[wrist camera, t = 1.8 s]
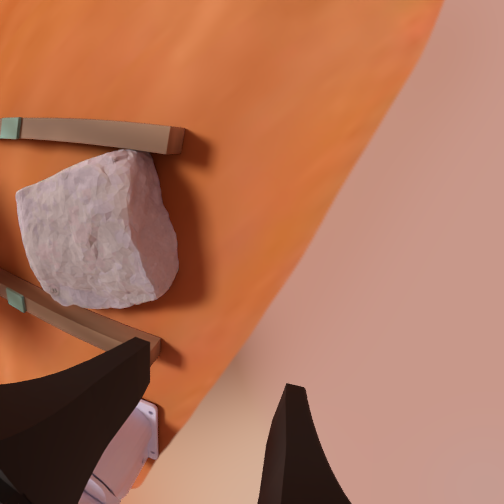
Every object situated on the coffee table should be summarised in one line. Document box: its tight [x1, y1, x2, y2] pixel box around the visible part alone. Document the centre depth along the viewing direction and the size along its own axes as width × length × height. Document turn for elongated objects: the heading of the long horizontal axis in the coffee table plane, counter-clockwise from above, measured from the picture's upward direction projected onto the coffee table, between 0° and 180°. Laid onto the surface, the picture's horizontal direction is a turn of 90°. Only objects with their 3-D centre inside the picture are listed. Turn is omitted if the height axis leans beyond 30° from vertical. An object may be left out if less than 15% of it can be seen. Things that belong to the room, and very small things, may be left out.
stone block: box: [16, 149, 179, 309], centre depth 19 cm, size 12×5×10 cm
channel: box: [0, 117, 185, 367], centre depth 20 cm, size 16×22×2 cm
